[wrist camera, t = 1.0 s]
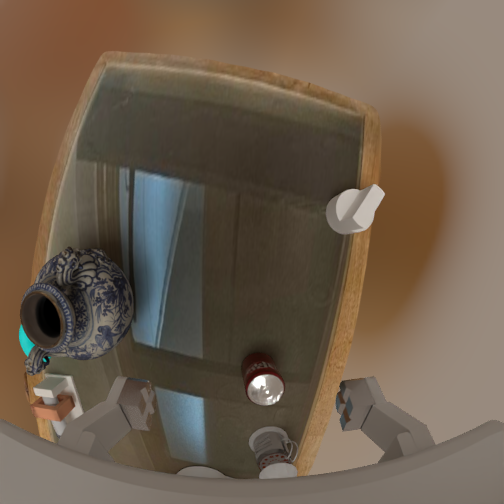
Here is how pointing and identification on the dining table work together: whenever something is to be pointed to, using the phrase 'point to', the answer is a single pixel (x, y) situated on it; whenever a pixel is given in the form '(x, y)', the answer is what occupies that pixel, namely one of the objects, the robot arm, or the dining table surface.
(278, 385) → the soda can
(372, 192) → the cylinder with rectangular tab
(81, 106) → the dining table surface
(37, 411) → the angular ring
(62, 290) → the decorative vase
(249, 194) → the dining table surface
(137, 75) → the dining table surface
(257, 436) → the french press
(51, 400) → the pipe stand
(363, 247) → the dining table surface
